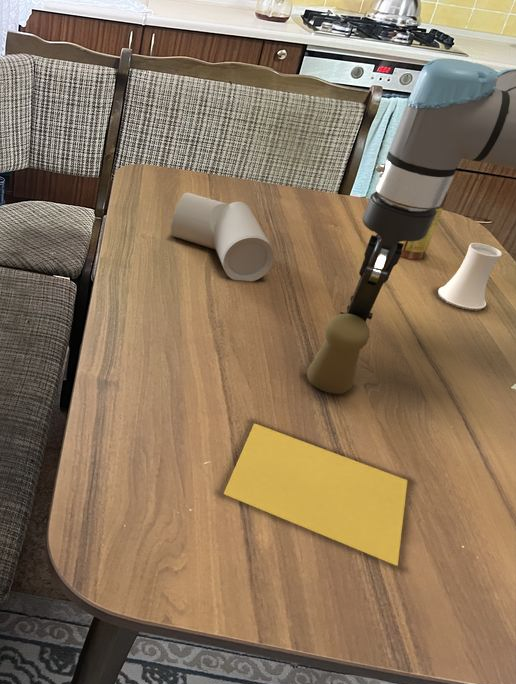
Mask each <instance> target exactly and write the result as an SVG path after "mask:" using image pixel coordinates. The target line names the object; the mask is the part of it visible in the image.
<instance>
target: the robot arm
mask: <svg viewBox="0 0 516 684" xmlns="http://www.w3.org/2000/svg"><path fill="white" fill-rule="evenodd" d="M400 117H401V118H400V120H399V122H398V126H397V127H396V128H397V129H396V130H395V134H394V136H393V138H392V141H391V144H390V147H389V149H388V152H387V155H386V158H385V160H384V163H378V164H377V165H376V166H375V171H376V172H378V173H380V174H379V176H378V178H377V181H376V183H375V185H374V189H375V192H373V193H372V194H370V197H369V199H368V202H367V204H366V207H365V210H364V212H363V214H362V218H361V220H362V223H363V225H364V227H366V228H367V229H368V230H369V231H371V232H374V233H375V234H376V235H374V234H371V235H370V238H369V240H368V242H367V246H366V249H365V252H364V253H363V255H364V258H363V260H362V263H361V267H360V269H359V273H358V274H359V276H360V277H359V280H358V282H357V285H356V287H355V288H354V292H353V294H352V295H351V296H350V301H349V302H350V303H349V305H347V307H346V312H343V311H340V313H339V315H340V314H353V315H356V316H358V317H360V318H362V319H363V320H364V321H365V322H366V323H367V320H372V318H373V316H374V313H373V312H371V311H372V309H373V307H374V304H375V303H376V300H377V298H378V296H379V294H380V291H381V290H382V287H383V286H384V284H385V283H387V281H388V280H389V278H390V275H391V273H392V271H393V269H394V267H395V266H396V265H398V263H399V261H400V258H401V257H400V256H401V253H402V251H401V250H402V248H403V245H404V244H403V243H399V242H401V241H409V242H411V241H418V240H421V239H423V238H424V237H425V236H426V235H427V233H428V230H429V228H430V226H431V224H432V222H433V220H434V217H435V215H436V213H437V212H436V209H435V208H436V207H438V206H440V205H441V203H442V201H443V199H444V197H445V195H446V192H447V193H448V190H449V188H450V186H451V183H452V182H453V180H454V177H455V175H456V171H457V169H458V166H459V164H460V163H461V161H462V160H469V161H472V162H479V163H484V164H489V165H493V166H499V167H503V168H508V169H514V170H516V68H510V69H509V68H507V69H503V70H499V71H496V69H494V68H493V67H490V66H487V65H485V64H481V63H478V62H477V63H476V62H472V61H468V60H464V59H463V60H462V59H457V58H445V57H444V58H435V59H432V60H430V61H428V62H427V63H426V64H425V65H424V66H423V68H422V69H421V71H420V73H419V75H418V78H417V80H416V81H415V84H414V86H413V88H412V90H411V93H410V95H409V96H408V98H407V99H406V105H405V107H404V109H403V112H402V115H401V116H400Z"/></svg>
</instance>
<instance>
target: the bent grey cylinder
mask: <svg viewBox="0 0 516 684" xmlns="http://www.w3.org/2000/svg"><path fill="white" fill-rule="evenodd" d="M170 231H171V232H170V233H171V236H172V237H174V238H177V239H180V240H183V241H187V242H189V243H193V244H196V245H199V246H202V247H205V248H209V249H211V250H215V251H216V253H217V255H218V258H219V261H220V263H221V266H222V268H223V270H224V272H225V274H226V276H228V277H229V278H230V279H231V280H233V281H245V282H255V281H257V280H259V279H261V278H263V277H264V276H265V275H267V274H268V272H269V271H270V270H271V268H272V267H273V264H274V261H275V252H274V250H273V247H272V246H271V244H270V242H269V240H268V238H267V236H266V234H265V232H264V231H263V229H262V227H261V225H260V224H259V221H257V219H256V217H255V215H254V213H253V211H252V210H251V208H250V207H249V206H248V204H246V203H245V202H242V201H233V202H231V203H226V202H222V201H219V200H216V199H213V198H208V197H206V196H203V195H202V196H201V195H197V194H194V193H191V192H185V193H183V195H182V196H181V197H180V199H179V201H178V203H177V205H176V208H175V210H174V213H173V216H172V220H171V225H170Z"/></svg>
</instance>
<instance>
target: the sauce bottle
mask: <svg viewBox="0 0 516 684" xmlns="http://www.w3.org/2000/svg"><path fill="white" fill-rule="evenodd" d="M447 197H448V191H447V192H446V195H445V197H444V199H443V201H442V203H441V205H440V206H438V207H436V208H435V209H436V212H437V213H436V215H435V217H434V220H433V222H432V224H431V226H430V228H429V230H428V233H427V235H426V236H425V237H424V238H423V239H421V240H418V241H411V242H409V241H401V242H399V243H403V244H404V245H403V248H402V250H401V251H402V253H401V256H400V258H404V259H407V260H412V261H414V260H415V261H417V260H422V259H423V258H424V256H425V254H426V252H427V251H428V248H429V245H430V243H431V240H432V238H433V235H434V232H435V230H436V227H437V224H438V222H439V220H440V217H441V215H442V212H443V210H444V207H445V203H446V201H447V200H446V199H447Z"/></svg>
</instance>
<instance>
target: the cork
mask: <svg viewBox="0 0 516 684" xmlns="http://www.w3.org/2000/svg"><path fill="white" fill-rule="evenodd" d="M324 333H325V334H324V335H325V340H324V341H323V343H322V345H321V347H320V348H319V350H318V352H317V353H316V355H315V356H314V358H313V360H312V361H311V363H310V364H309V366H308V369H307V371H306V378H307V380H308V382H309V383H310V384H311V385H312V386H314V388H317V389H319V390H320V391H323V392H326V393H328V394H335V395H342V394H343V395H344V394H345V393H348V391H350V390H351V389H352V387H353V384H354V381H355V375H356V370H357V365H358V360H359V355H360V351H361V350H362V349H363V348H364V347H366V345H367V344H368V341H369V339H370V334H371V333H370V327H369V326H368V324H367V321H366V322H365V321H364V320H363V319H362V318H360V317H358V316H356V315H353V314H340V313H339V314H338V315H335V316H333V317H332V318H331V319H330V320H329V321H327V324H326V327H325V329H324Z"/></svg>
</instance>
